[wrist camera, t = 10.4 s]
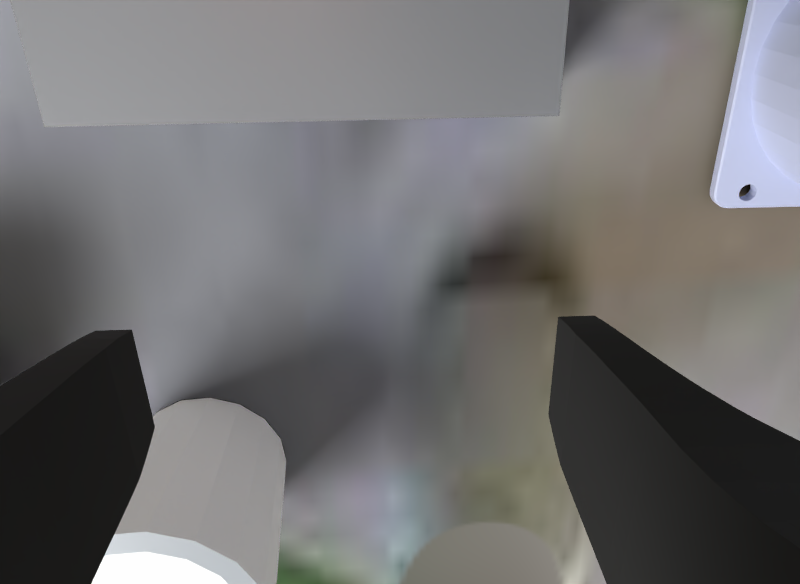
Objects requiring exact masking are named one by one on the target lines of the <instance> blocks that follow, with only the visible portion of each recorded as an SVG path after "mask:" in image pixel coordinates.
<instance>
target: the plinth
mask: <svg viewBox="0 0 800 584" xmlns="http://www.w3.org/2000/svg"><path fill="white" fill-rule="evenodd" d="M569 1H570V0H10V2H11V5H12V9H13V13H14V17H15V20H16V24H17V28H18V32H19V35H20V39H21V43H22V47H23V50H24V54H25V58H26V61H27V65H28V69H29V73H30V76H31V80H32V84H33V88H34V91H35V95H36V99H37V102H38V106H39V110H40V114H41V117H42V121H43V125H44V127H78V126H123V125H168V124H213V123H258V122H304V121H349V120H394V119H439V118H484V117H529V116H559V114H560V102H561V91H562V80H563V69H564V57H565V46H566V35H567V24H568V12H569Z"/></svg>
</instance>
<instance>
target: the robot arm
mask: <svg viewBox="0 0 800 584" xmlns="http://www.w3.org/2000/svg"><path fill="white" fill-rule="evenodd" d="M749 184H750V187H751V188H750V190H749V192H748V193H747V194H746V195H745V196H741V197H739V192H740V190H741V188H742V187H744V186H745V185H749ZM710 197H711V199H712V200H713V201H714V202H715V203H716V204H718V205H719V206H720V207H724V208H754V207H800V0H748V5H747V9H746V14H745V19H744V24H743V29H742V34H741V39H740V44H739V49H738V54H737V59H736V64H735V69H734V74H733V79H732V84H731V88H730V93H729V98H728V103H727V108H726V113H725V118H724V123H723V128H722V133H721V138H720V143H719V148H718V153H717V158H716V162H715V167H714V172H713V177H712V182H711V187H710ZM549 419H550V423H551V428H552V432H553V436H554V441H555V445H556V449H557V453H558V457H559V461H560V465H561V467H562V470H563V473H564V476H565V478H566V481H567V483H568V486H569V489H570V491H571V494H572V496H573V499H574V502H575V504H576V507H577V509H578V512H579V514H580V517H581V519H582V522H583V525H584V527H585V530H586V532H587V535H588V537H589V540H590V542H591V545H592V547H593V550H594V552H595V555H596V558H597V560H598V563H599V565H600V568H601V570H602V573H603V575H604V578H605V580H606V583H607V584H800V441H799V440H796V439H794V438H793V437H791V436H789V435H787V434H785V433H783V432H781V431H779V430H777V429H775V428H773V427H771V426H769V425H767V424H765V423H763V422H761V421H759V420H757V419H755V418H753V417H751V416H749V415H747V414H746V413H744V412H742V411H740V410H738V409H737V408H735V407H733V406H731V405H730V404H728V403H726V402H725V401H723V400H721V399H720V398H718V397H716V396H715V395H713V394H711V393H710V392H708V391H706V390H705V389H703V388H701V387H700V386H698V385H697V384H695V383H693V382H692V381H690V380H689V379H687V378H686V377H684V376H683V375H681V374H679V373H678V372H676V371H675V370H673V369H672V368H670V367H669V366H668V365H666V364H665V363H663V362H662V361H660V360H659V359H657V358H656V357H654V356H653V355H651V354H650V353H649V352H647V351H646V350H644V349H643V348H641V347H640V346H639V345H637V344H636V343H634V342H633V341H632V340H630V339H629V338H627V337H626V336H624V335H623V334H622V333H620V332H619V331H617V330H616V329H614V328H613V327H611V326H610V325H609V324H607V323H605V322H604V321H602V320H601V319H599V318H597V317H596V316H570V317H558V325H557V335H556V345H555V355H554V365H553V375H552V385H551V395H550V405H549ZM154 429H155V425H154V421H153V417H152V413H151V408H150V404H149V400H148V396H147V392H146V387H145V383H144V379H143V375H142V371H141V367H140V362H139V358H138V354H137V350H136V346H135V341H134V337H133V333H132V330H108V331H94V332H92V333H90V334H88V335H86V336H84V337H82V338H80V339H78V340H76V341H75V342H73V343H71V344H69V345H68V346H66V347H64V348H62V349H61V350H59V351H57V352H56V353H54V354H52V355H51V356H49V357H48V358H46V359H44V360H43V361H41V362H39V363H38V364H36V365H35V366H33V367H31V368H30V369H28V370H26V371H25V372H23V373H21V374H20V375H18V376H17V377H15V378H13V379H12V380H10V381H8V382H7V383H5V384H3V385H2V386H0V584H91V583H92V581H93V579H94V577H95V575H96V573H97V570H98V568H99V566H100V564H101V562H102V560H103V558H104V555H105V553H106V551H107V549H108V547H109V545H110V543H111V540H112V538H113V536H114V534H115V532H116V530H117V528H118V526H119V523H120V521H121V519H122V517H123V515H124V513H125V510H126V508H127V506H128V504H129V502H130V499H131V497H132V495H133V493H134V491H135V488H136V486H137V484H138V481H139V479H140V476H141V473H142V470H143V467H144V464H145V460H146V457H147V454H148V450H149V447H150V443H151V439H152V436H153V432H154Z"/></svg>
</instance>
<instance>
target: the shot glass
mask: <svg viewBox="0 0 800 584" xmlns="http://www.w3.org/2000/svg"><path fill="white" fill-rule="evenodd" d="M153 421H154V425H155V429H154V432H153V436H152V439H151V443H150V447H149V450H148V454H147V457H146V460H145V464H144V467H143V470H142V473H141V476H140V479H139V481H138V484H137V486H136V488H135V491H134V493H133V495H132V497H131V499H130V502H129V504H128V506H127V508H126V510H125V513H124V515H123V517H122V519H121V521H120V523H119V526H118V528H117V530H116V532H115V534H114V536H113V538H112V540H111V543H110V545H109V547H108V549H107V551H106V553H105V555H104V558H103V560H102V562H101V564H100V566H99V568H98V570H97V573H96V575H95V577H94V579H93V581H92V583H91V584H276V582H277V570H278V558H279V546H280V534H281V521H282V509H283V497H284V485H285V472H286V458H285V454H284V450H283V446H282V442H281V439H280V437H279V436H278V435H277V434H276V433H275V431H274V430H273V429H272V428H271V426H270V425H269V424H268V423H267V421H266V420H265V419H264V418H262V417H260V416H258V415H257V414H255V413H253V412H252V411H250V410H248V409H247V408H245V407H243V406H241V405H240V404H236V403H231V402H227V401H222V400H218V399H213V398H202V399H191V400H181V401H179V402H177V403H175V404H173V405H171V406H168V407H166V408H164V409H162V410H160V411H158V412H157V413H156V414H155V415H154V417H153Z"/></svg>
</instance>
